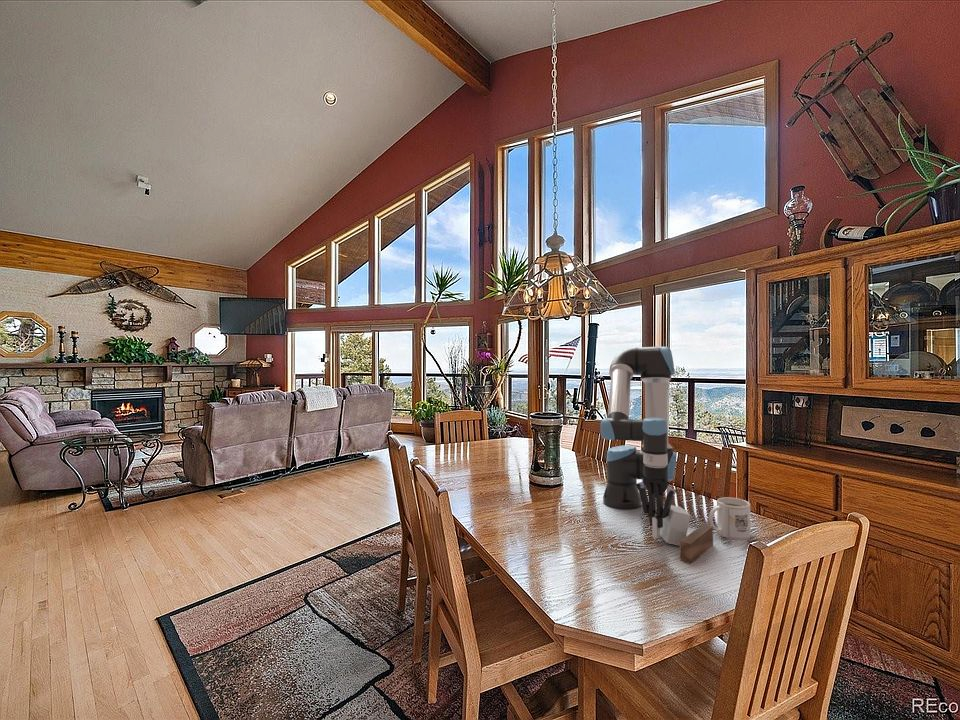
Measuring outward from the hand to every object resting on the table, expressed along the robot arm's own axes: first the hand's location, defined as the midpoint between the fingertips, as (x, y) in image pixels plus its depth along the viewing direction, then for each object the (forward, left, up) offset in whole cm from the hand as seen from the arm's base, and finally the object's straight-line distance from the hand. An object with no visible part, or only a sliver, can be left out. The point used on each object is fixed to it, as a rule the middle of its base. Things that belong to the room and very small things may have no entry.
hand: (656, 536), depth 148 cm
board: (+13, 0, -2) cm, 13 cm away
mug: (+15, +22, -2) cm, 27 cm away
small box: (+3, +2, -1) cm, 4 cm away
